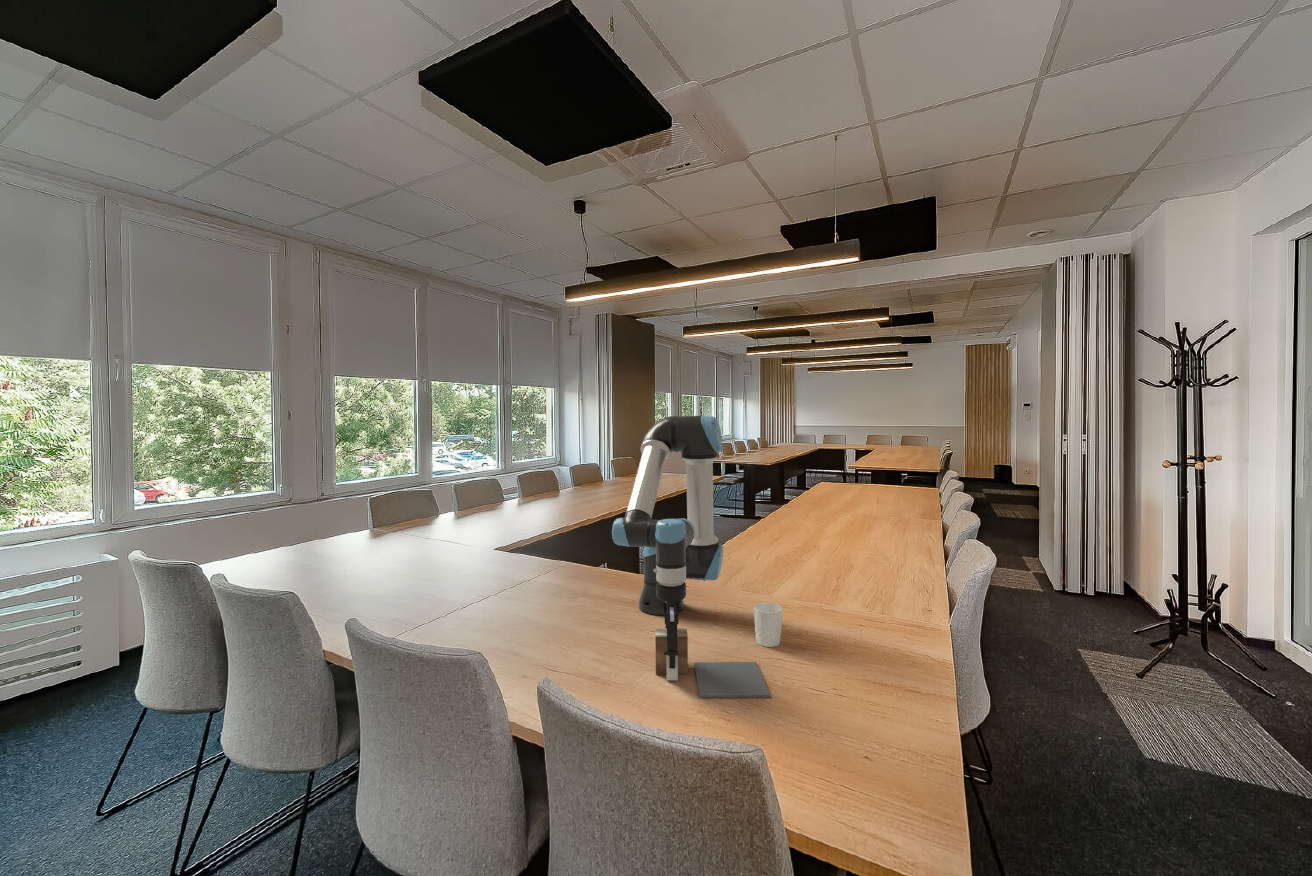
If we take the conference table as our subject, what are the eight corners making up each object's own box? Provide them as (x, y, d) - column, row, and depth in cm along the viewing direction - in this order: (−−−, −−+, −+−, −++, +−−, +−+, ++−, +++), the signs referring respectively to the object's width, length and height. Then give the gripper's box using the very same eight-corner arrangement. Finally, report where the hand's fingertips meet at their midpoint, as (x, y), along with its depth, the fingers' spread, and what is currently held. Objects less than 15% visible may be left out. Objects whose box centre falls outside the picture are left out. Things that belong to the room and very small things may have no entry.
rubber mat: (694, 664, 132) (694, 662, 132) (756, 664, 132) (756, 661, 132) (699, 698, 116) (699, 695, 116) (770, 697, 116) (770, 695, 116)
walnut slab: (655, 667, 131) (655, 628, 131) (686, 666, 131) (686, 628, 131) (655, 674, 127) (655, 635, 127) (687, 674, 127) (687, 634, 127)
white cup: (761, 650, 140) (761, 614, 140) (749, 638, 148) (749, 604, 148) (787, 646, 142) (787, 611, 142) (773, 635, 150) (773, 601, 150)
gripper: (655, 569, 139) (656, 650, 140) (656, 596, 117) (656, 693, 118) (683, 569, 139) (683, 650, 140) (688, 596, 117) (689, 692, 118)
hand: (671, 669), depth 129 cm, fingers open, 9 cm apart
